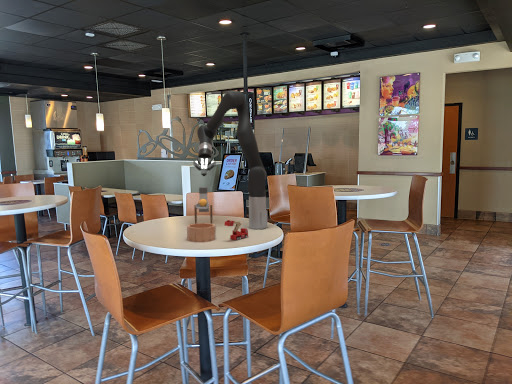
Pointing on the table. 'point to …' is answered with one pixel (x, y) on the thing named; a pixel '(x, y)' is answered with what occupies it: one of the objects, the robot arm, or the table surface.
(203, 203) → the ball
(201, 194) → the grey angular piece
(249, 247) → the table surface
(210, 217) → the catapult stand
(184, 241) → the table surface
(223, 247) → the table surface
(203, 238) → the terracotta shallow bowl
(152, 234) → the table surface
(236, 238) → the toy fire truck
